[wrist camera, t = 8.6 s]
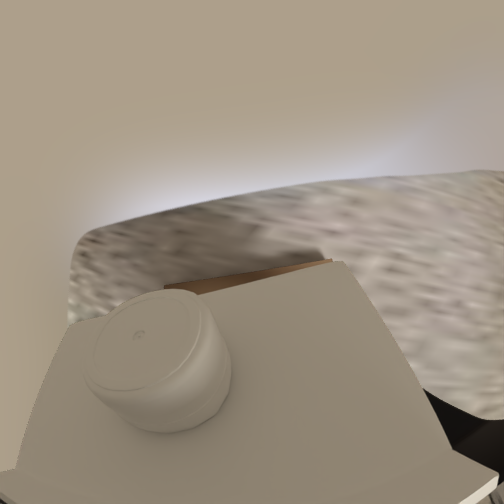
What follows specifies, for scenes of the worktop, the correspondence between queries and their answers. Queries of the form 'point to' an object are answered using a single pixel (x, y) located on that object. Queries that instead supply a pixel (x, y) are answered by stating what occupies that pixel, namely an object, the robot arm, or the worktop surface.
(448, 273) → the worktop surface
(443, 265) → the worktop surface
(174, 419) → the milk carton
